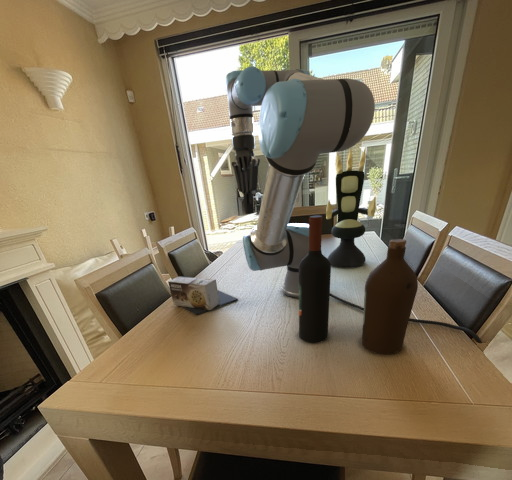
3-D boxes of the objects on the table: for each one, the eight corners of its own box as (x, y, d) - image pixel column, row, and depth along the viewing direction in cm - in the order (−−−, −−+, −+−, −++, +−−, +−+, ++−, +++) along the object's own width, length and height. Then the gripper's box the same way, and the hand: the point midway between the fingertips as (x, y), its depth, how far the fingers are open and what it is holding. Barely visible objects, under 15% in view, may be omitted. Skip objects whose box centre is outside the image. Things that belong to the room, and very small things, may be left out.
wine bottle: (310, 346, 74) (312, 220, 59) (293, 334, 80) (291, 217, 65) (333, 337, 77) (341, 215, 62) (315, 326, 83) (318, 212, 68)
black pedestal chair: (324, 270, 126) (328, 146, 104) (322, 256, 145) (326, 149, 122) (369, 268, 123) (384, 140, 100) (362, 255, 141) (373, 144, 119)
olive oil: (410, 341, 72) (433, 236, 59) (396, 361, 65) (418, 248, 53) (368, 330, 78) (381, 233, 66) (351, 347, 72) (361, 244, 59)
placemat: (237, 299, 105) (237, 298, 105) (196, 315, 96) (196, 314, 96) (217, 291, 115) (217, 289, 114) (178, 304, 106) (177, 303, 106)
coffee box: (216, 278, 98) (179, 275, 104) (205, 285, 93) (167, 281, 100) (220, 303, 102) (184, 298, 109) (209, 311, 97) (173, 305, 104)
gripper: (222, 138, 97) (231, 214, 109) (246, 132, 88) (252, 215, 100) (240, 138, 101) (246, 211, 113) (264, 132, 92) (268, 212, 104)
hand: (249, 213), depth 107 cm, fingers closed
